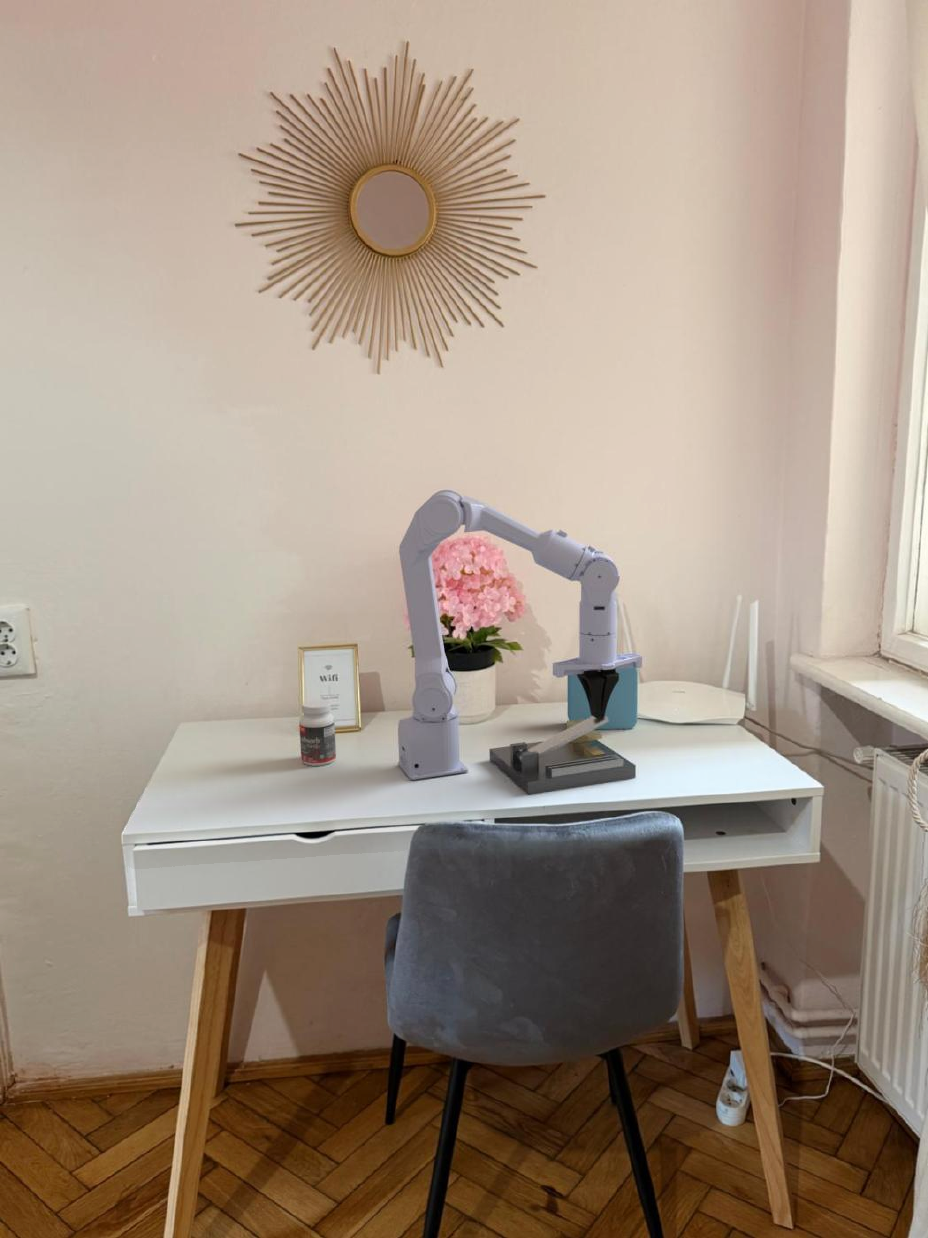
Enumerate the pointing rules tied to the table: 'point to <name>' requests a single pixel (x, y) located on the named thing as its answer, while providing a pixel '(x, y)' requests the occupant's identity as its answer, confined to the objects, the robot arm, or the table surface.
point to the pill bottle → (317, 733)
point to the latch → (586, 737)
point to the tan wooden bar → (566, 736)
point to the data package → (619, 704)
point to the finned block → (561, 766)
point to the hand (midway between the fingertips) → (597, 716)
